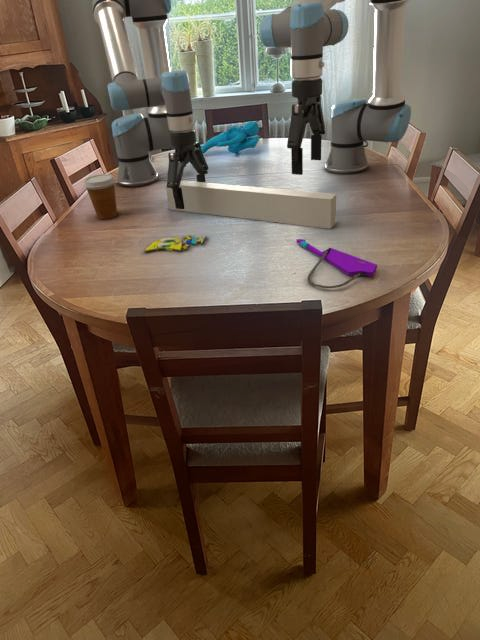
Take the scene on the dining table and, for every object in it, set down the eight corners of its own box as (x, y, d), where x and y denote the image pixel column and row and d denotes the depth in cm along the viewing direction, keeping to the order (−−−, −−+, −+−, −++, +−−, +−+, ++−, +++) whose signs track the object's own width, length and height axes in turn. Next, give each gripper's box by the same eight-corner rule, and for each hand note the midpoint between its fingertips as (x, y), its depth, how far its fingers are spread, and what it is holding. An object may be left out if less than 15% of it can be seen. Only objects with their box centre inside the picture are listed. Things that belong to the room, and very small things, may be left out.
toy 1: (199, 248, 125) (143, 249, 127) (199, 251, 125) (144, 252, 127) (206, 233, 133) (154, 234, 135) (206, 236, 133) (154, 237, 136)
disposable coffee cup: (86, 219, 152) (76, 182, 146) (104, 209, 159) (95, 173, 153) (111, 222, 149) (102, 183, 142) (128, 211, 156) (120, 174, 149)
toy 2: (197, 135, 216) (259, 115, 206) (205, 158, 221) (266, 140, 211) (186, 144, 203) (252, 124, 192) (195, 169, 208) (260, 150, 198)
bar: (169, 209, 155) (165, 183, 150) (177, 204, 158) (173, 179, 153) (330, 228, 131) (331, 199, 127) (335, 223, 135) (336, 193, 130)
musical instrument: (357, 300, 100) (389, 251, 113) (357, 292, 99) (389, 243, 111) (259, 284, 113) (297, 241, 125) (258, 277, 112) (296, 234, 124)
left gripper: (168, 140, 130) (179, 216, 141) (214, 121, 147) (221, 190, 159) (146, 139, 133) (159, 213, 144) (194, 121, 151) (202, 188, 162)
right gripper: (302, 86, 106) (302, 181, 117) (338, 70, 124) (335, 155, 135) (271, 86, 109) (274, 179, 120) (310, 71, 127) (310, 153, 138)
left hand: (191, 201), depth 152 cm, fingers open, 12 cm apart
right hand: (307, 166), depth 128 cm, fingers open, 13 cm apart
